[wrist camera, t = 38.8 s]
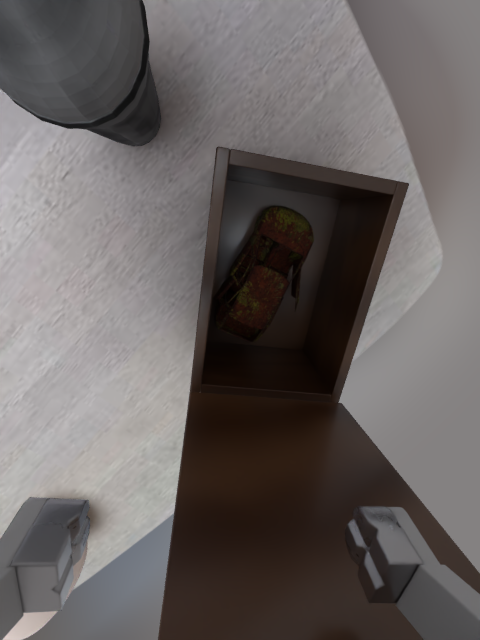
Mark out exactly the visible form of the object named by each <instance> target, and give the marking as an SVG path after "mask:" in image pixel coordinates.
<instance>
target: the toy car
mask: <svg viewBox="0 0 480 640" xmlns="http://www.w3.org/2000/svg"><path fill="white" fill-rule="evenodd" d="M313 242H314V235H313V229H312V226H311V224H310V223H309V221H308V220H307V219H306V218H305V217H304V216H303V215H302V214H300V213H298V212H296V211H295V210H293V209H291V208H288V207H285V206H270V207H268V208H266V209H265V210H263V212H262V216H260V215H259V216H258V218H257V221H256V224H255V228H254V232H253V233H252V235H251V236H250V237H249V240H248V242H247V244H246V245H245V247H244V248H243V250H242V251H241V253H240V254H239V256H238V257H237V259H236V260H235V262H234V263H233V265H232V266H231V268H230V276H229V277H228V278H227V279H226V280H225V281H224V283H223V284H222V285H221V287H220V289H219V291H218V292H217V293H216V295H215V296H214V297H213V299H214V300H216V299H218V301H217V304H216V310H215V312H214V313H215V314H214V318H215V324H216V327H217V328H218V329H219V330H221V331H223V332H226V333H228V334H230V335H232V336H235V337H237V338H240V339H242V340H244V341H247V342H250V343H251V342H255V341H257V340H258V339H259V338H260V337H261V336H262V335H263V333H264V332H265V330H266V329H267V327H268V325H269V326H270V324H271V322H272V320H273V318H274V316H275V314H276V312H277V310H278V308H279V306H280V304H281V302H282V300H283V296H284V294H285V292H286V290H287V288H288V286H289V285H290V283H291V281H292V289H291V295H292V296H293V297H294V298H295V311H296V308H297V304H298V303H299V293H300V278H301V267H302V265H303V263H304V262H305V260H306V258H307V256H308V254H309V251H310V249H311V247H312V244H313ZM292 265H293V271H292V279H291V281H290V282H289V281H288V280H287V277H288V272H289V271H290V269H291V267H292ZM296 301H297V303H296ZM268 321H269V322H268ZM267 323H268V324H267Z"/></svg>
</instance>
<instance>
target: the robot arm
mask: <svg viewBox="0 0 480 640" xmlns="http://www.w3.org/2000/svg"><path fill="white" fill-rule="evenodd" d="M89 508H90V507H89V500H83V499H60V498H37V497H30V498H29V499H28V500H27V501H25V502H24V503H23V505H22V506H21V508H20V509H19V511H18V512H17V514H16V516H15V517H14V519H13V520H12V522H11V523H10V525H9V526H8V528H7V530H6V531H5V533H4V534H3V536H2V537H1V539H0V640H2V639H3V638H4V637H5V636H6V635H7V634H8V633H9V632H10V630H11V629H12V628H13V627H14V626H15V625H16V624H17V623H18V621H19V620H20V619H21V618H22V617H23V613H33V612H50V611H61V610H62V608H63V605H64V603H65V600H66V597H67V595H68V592H69V589H70V587H71V584H72V582H73V579H74V575H73V566H74V565H75V564H76V563H77V562H78V561H79V560H80V559H81V557H82V555H83V552H84V549H85V546H86V543H87V539H88V535H89V529H90V518H89V517H88V516H87V513H88V510H89ZM352 515H353V517H354V519H353V520H351V521H350V522H349V523H348V524H347V527H346V530H345V541H346V545H347V549H348V552H349V555H350V557H351V559H352V560H353V561H354V562H355V563H356V564H357V565H358V566H359V570H358V577H359V580H360V582H361V585H362V587H363V590H364V592H365V595H366V597H367V600H368V602H369V603H397V604H396V606H397V608H398V609H399V610H400V611H401V612H402V614H403V615H404V616H405V617H406V618H407V620H408V621H409V622H410V623H411V625H412V626H413V627H414V628H415V629H416V631H417V632H418V633H419V634H420V635H421V637H422V638H423V639H424V640H480V594H479V593H478V592H476V591H475V590H474V589H473V588H472V587H471V586H469V585H468V584H467V583H466V582H465V581H463V580H462V579H461V578H460V577H459V576H458V575H456V574H455V573H454V572H453V571H452V570H450V569H449V568H448V567H447V566H446V565H440V563H439V562H438V560H437V559H436V557H435V555H434V554H433V552H432V551H431V549H430V548H429V546H428V545H427V543H426V541H425V540H424V538H423V537H422V535H421V534H420V532H419V531H418V529H417V528H416V526H415V524H414V523H413V521H412V520H411V518H410V517H409V515H408V514H407V512H406V511H405V510H404V509H403V508H401V507H385V506H357V507H356V508H354V510H353V512H352Z"/></svg>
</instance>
